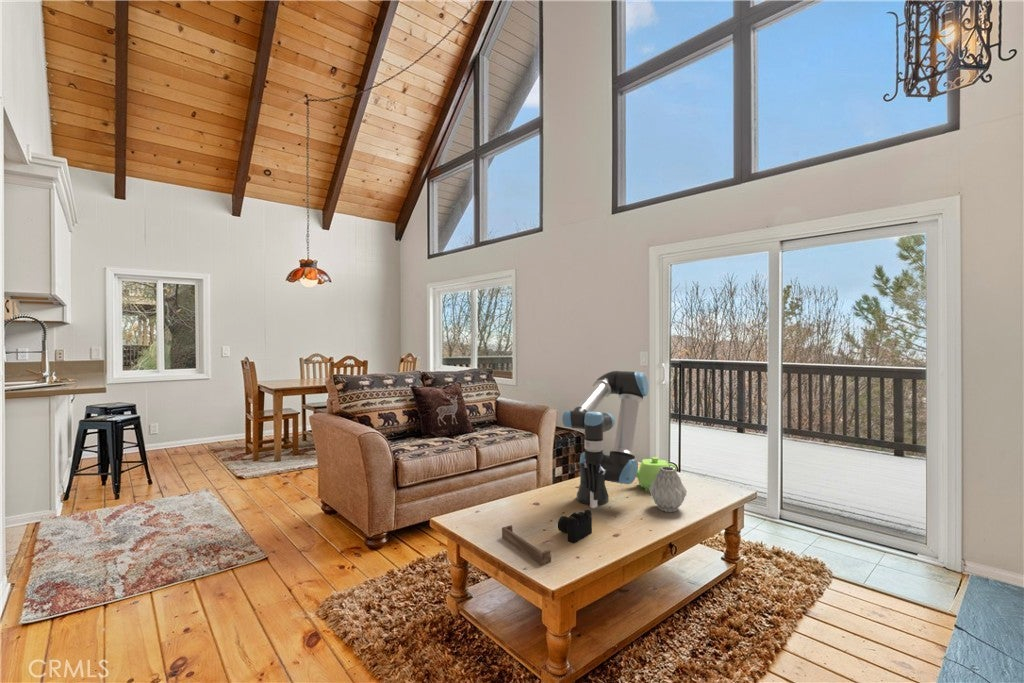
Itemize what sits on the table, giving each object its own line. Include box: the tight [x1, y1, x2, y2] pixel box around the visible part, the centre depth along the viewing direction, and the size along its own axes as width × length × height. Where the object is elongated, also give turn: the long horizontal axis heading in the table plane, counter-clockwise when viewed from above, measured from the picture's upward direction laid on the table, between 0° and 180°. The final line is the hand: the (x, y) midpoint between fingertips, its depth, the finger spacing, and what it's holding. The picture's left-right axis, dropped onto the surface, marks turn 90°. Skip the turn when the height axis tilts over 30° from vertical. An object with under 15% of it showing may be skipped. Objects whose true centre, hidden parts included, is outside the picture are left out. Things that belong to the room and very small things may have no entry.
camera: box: [557, 509, 593, 544], centre depth 187 cm, size 14×11×10 cm
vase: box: [649, 466, 688, 513], centre depth 212 cm, size 16×16×18 cm
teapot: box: [636, 456, 678, 492], centre depth 243 cm, size 25×22×16 cm
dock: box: [501, 524, 552, 566], centre depth 175 cm, size 4×26×4 cm, turn 33°
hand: (593, 506), depth 193 cm, fingers closed
